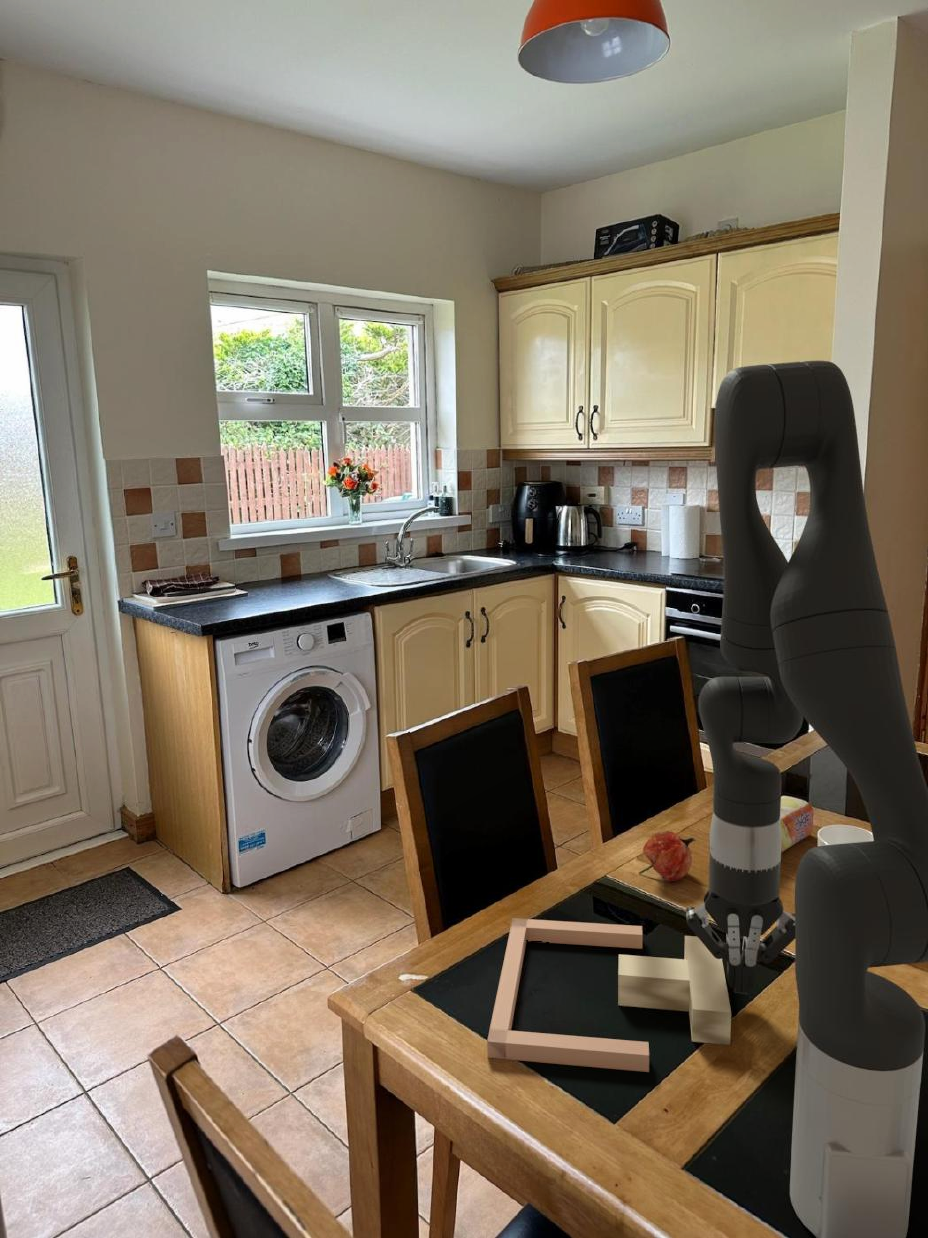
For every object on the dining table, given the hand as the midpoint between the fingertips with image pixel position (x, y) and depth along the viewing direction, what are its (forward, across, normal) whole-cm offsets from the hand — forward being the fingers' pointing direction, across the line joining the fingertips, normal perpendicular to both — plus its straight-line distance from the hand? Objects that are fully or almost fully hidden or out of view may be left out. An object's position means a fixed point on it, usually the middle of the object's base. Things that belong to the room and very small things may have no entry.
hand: (740, 989), depth 99 cm
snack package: (+3, +8, +38) cm, 39 cm away
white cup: (+2, +17, +24) cm, 30 cm away
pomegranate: (+2, -7, +29) cm, 30 cm away
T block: (+2, -8, 0) cm, 8 cm away
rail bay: (+2, -18, 0) cm, 18 cm away
